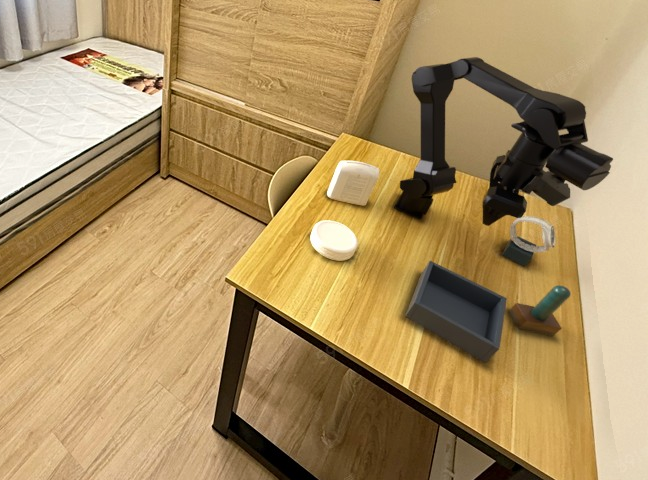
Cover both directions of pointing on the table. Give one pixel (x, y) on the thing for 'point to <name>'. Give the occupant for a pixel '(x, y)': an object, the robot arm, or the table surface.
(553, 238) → the watch
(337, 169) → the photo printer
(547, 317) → the teal handled stamp
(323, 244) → the white thick round disc
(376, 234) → the table surface
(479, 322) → the basket
